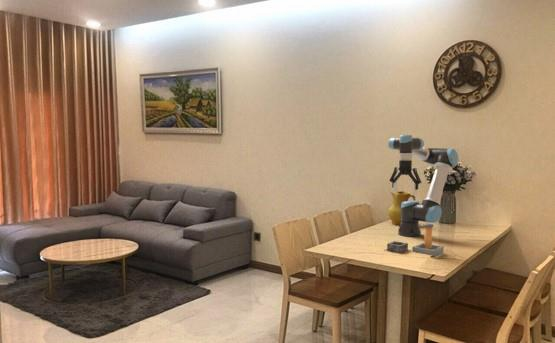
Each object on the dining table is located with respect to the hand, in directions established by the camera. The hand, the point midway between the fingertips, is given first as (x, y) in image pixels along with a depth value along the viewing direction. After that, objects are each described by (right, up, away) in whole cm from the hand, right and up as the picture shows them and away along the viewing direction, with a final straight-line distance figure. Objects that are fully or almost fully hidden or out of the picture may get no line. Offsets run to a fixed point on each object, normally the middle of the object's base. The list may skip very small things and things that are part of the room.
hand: (404, 194), depth 285 cm
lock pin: (+8, -32, -20) cm, 39 cm away
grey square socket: (-10, -33, -18) cm, 39 cm away
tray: (+8, -33, -20) cm, 40 cm away
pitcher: (+15, -27, +67) cm, 74 cm away
